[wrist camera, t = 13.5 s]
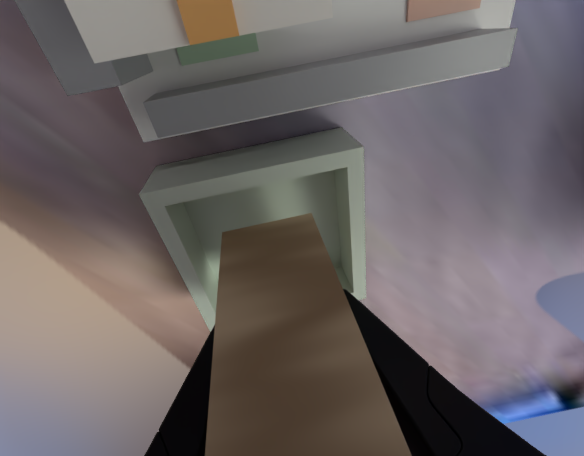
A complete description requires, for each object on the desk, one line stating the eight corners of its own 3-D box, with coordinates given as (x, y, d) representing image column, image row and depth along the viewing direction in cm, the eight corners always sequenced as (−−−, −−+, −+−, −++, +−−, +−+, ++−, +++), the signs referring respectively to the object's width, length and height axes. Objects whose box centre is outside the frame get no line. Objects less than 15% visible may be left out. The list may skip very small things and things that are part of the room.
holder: (341, 127, 12) (363, 146, 10) (349, 264, 16) (366, 298, 14) (156, 165, 12) (138, 194, 9) (215, 295, 16) (211, 334, 14)
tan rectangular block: (311, 212, 11) (537, 759, 3) (320, 277, 13) (467, 710, 5) (222, 232, 11) (172, 871, 3) (244, 294, 13) (258, 771, 4)
